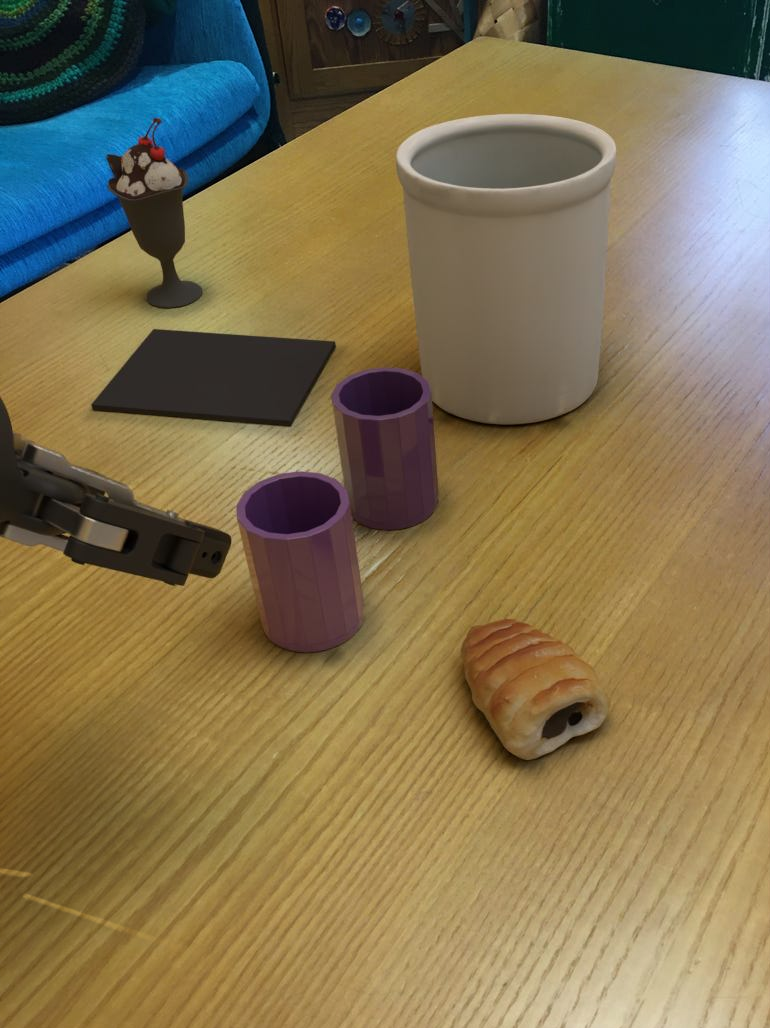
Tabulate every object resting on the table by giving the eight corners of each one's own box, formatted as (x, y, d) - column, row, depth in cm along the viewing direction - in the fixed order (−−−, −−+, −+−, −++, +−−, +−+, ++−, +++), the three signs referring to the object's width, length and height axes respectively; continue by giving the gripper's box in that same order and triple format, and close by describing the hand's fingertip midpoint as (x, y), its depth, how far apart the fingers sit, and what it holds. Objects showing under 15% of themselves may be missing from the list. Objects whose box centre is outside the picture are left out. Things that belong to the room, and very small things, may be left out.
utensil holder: (410, 339, 91) (391, 116, 79) (588, 325, 92) (597, 103, 80) (419, 437, 80) (399, 198, 68) (620, 422, 81) (636, 182, 69)
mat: (92, 410, 85) (90, 404, 84) (154, 334, 93) (153, 328, 93) (290, 426, 82) (289, 420, 82) (336, 346, 90) (335, 341, 90)
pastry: (432, 666, 63) (428, 617, 61) (531, 624, 66) (532, 575, 63) (517, 774, 57) (517, 725, 55) (623, 724, 60) (628, 675, 57)
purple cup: (248, 646, 65) (219, 533, 59) (281, 578, 69) (258, 467, 63) (349, 658, 64) (330, 544, 58) (376, 588, 68) (361, 476, 62)
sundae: (225, 297, 97) (188, 120, 87) (154, 320, 95) (107, 140, 84) (195, 271, 101) (156, 98, 91) (126, 292, 99) (78, 117, 88)
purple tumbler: (336, 525, 73) (319, 415, 67) (361, 471, 78) (347, 364, 72) (426, 534, 72) (417, 423, 66) (446, 479, 77) (439, 370, 71)
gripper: (0, 390, 35) (296, 500, 49) (-239, 283, 41) (86, 408, 56) (-81, 608, 36) (235, 653, 50) (-305, 470, 42) (34, 546, 56)
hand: (156, 524), depth 53 cm, fingers open, 8 cm apart
